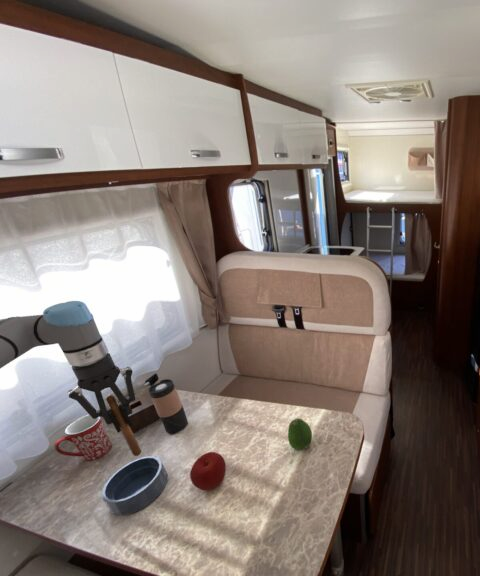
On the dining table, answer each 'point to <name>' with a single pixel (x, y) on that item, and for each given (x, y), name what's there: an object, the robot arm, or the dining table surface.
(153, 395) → the travel mug
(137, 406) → the holder
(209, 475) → the apple
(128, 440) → the stick
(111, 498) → the bowl
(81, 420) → the mug
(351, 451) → the dining table surface
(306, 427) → the fruit
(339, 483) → the dining table surface
